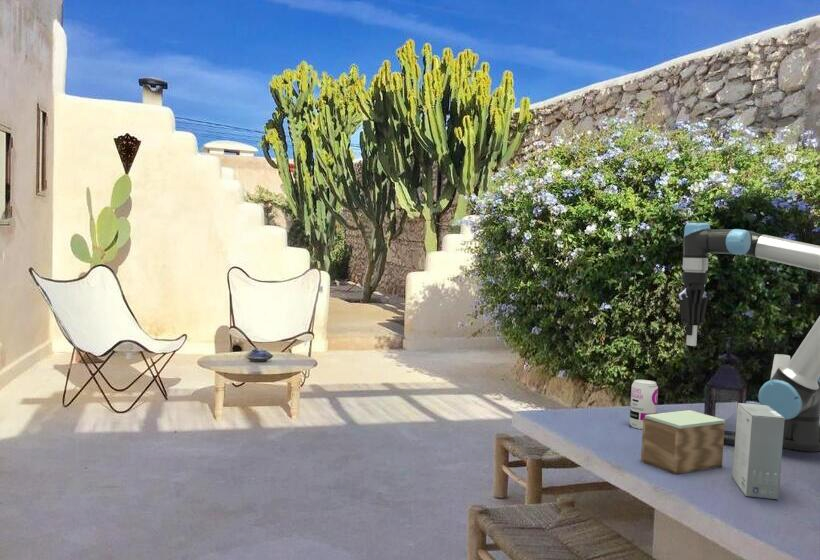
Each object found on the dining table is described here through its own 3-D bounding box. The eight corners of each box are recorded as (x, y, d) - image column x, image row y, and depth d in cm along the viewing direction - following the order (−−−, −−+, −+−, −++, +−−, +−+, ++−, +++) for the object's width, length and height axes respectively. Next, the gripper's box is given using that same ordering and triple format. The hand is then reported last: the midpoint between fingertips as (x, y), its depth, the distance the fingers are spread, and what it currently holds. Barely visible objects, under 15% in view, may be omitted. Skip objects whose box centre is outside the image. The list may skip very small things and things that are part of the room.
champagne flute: (768, 421, 259) (773, 353, 258) (790, 425, 255) (795, 355, 254) (764, 425, 254) (769, 355, 252) (786, 428, 250) (791, 357, 248)
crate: (685, 454, 214) (688, 413, 213) (721, 466, 204) (724, 423, 203) (640, 461, 205) (642, 418, 205) (675, 474, 195) (678, 429, 194)
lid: (689, 412, 213) (689, 410, 213) (725, 422, 202) (725, 420, 202) (644, 417, 204) (645, 415, 204) (679, 428, 194) (680, 425, 194)
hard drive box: (779, 500, 178) (785, 418, 177) (745, 497, 179) (751, 415, 178) (762, 480, 193) (768, 404, 192) (731, 477, 195) (736, 401, 193)
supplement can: (658, 426, 246) (661, 381, 245) (651, 431, 239) (654, 385, 238) (633, 422, 250) (636, 378, 249) (626, 427, 243) (628, 381, 242)
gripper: (699, 271, 244) (695, 343, 245) (671, 270, 237) (667, 344, 238) (718, 272, 237) (714, 346, 238) (690, 271, 231) (686, 347, 232)
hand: (691, 345), depth 238 cm, fingers closed
